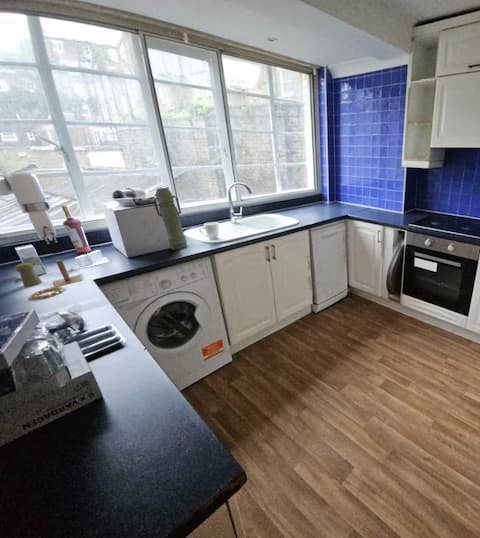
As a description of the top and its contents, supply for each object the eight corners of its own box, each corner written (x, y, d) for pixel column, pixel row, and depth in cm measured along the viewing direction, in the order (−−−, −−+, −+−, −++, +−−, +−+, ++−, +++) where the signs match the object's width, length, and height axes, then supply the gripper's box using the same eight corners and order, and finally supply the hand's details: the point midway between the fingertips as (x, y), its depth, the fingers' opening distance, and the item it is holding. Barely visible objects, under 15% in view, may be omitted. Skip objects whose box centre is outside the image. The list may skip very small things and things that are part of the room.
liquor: (95, 251, 177) (76, 204, 166) (83, 255, 170) (62, 207, 159) (86, 250, 178) (67, 204, 167) (73, 254, 172) (52, 207, 161)
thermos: (166, 247, 178) (148, 188, 164) (188, 243, 185) (172, 186, 171) (169, 251, 172) (151, 190, 158) (191, 246, 179) (175, 187, 165)
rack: (56, 289, 129) (44, 265, 125) (55, 283, 135) (44, 260, 130) (83, 282, 135) (72, 259, 130) (81, 277, 141) (71, 255, 136)
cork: (43, 281, 137) (32, 260, 132) (43, 285, 133) (31, 263, 128) (25, 286, 133) (13, 263, 129) (24, 290, 129) (11, 267, 125)
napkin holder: (106, 257, 166) (102, 247, 164) (109, 261, 159) (105, 251, 157) (70, 265, 156) (66, 255, 154) (72, 270, 149) (68, 260, 147)
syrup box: (44, 271, 149) (31, 244, 144) (47, 273, 146) (33, 246, 140) (28, 275, 145) (14, 247, 139) (31, 277, 142) (16, 249, 136)
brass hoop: (32, 304, 117) (29, 300, 116) (32, 296, 123) (29, 292, 122) (65, 295, 123) (63, 291, 122) (64, 288, 130) (62, 284, 129)
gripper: (20, 206, 113) (41, 248, 120) (21, 211, 102) (44, 257, 109) (47, 203, 118) (66, 243, 125) (51, 208, 107) (71, 252, 114)
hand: (55, 250), depth 117 cm, fingers open, 9 cm apart
